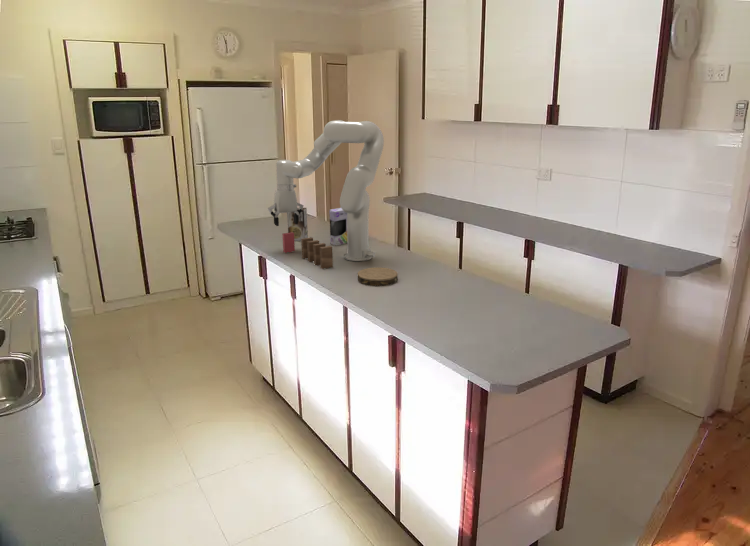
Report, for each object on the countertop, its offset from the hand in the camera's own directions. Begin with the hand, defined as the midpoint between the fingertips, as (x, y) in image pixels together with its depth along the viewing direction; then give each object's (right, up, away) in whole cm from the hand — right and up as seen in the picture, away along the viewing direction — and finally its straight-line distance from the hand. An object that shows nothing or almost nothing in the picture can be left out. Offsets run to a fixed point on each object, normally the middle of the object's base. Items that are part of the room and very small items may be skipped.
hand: (286, 224), depth 252 cm
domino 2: (+14, -17, -11) cm, 25 cm away
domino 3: (+17, -19, -15) cm, 30 cm away
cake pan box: (+27, -7, +21) cm, 35 cm away
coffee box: (+2, -6, +26) cm, 27 cm away
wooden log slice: (+42, -26, -36) cm, 61 cm away
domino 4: (+21, -20, -20) cm, 35 cm away
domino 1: (+11, -16, -6) cm, 20 cm away
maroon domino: (+1, -13, +4) cm, 13 cm away
